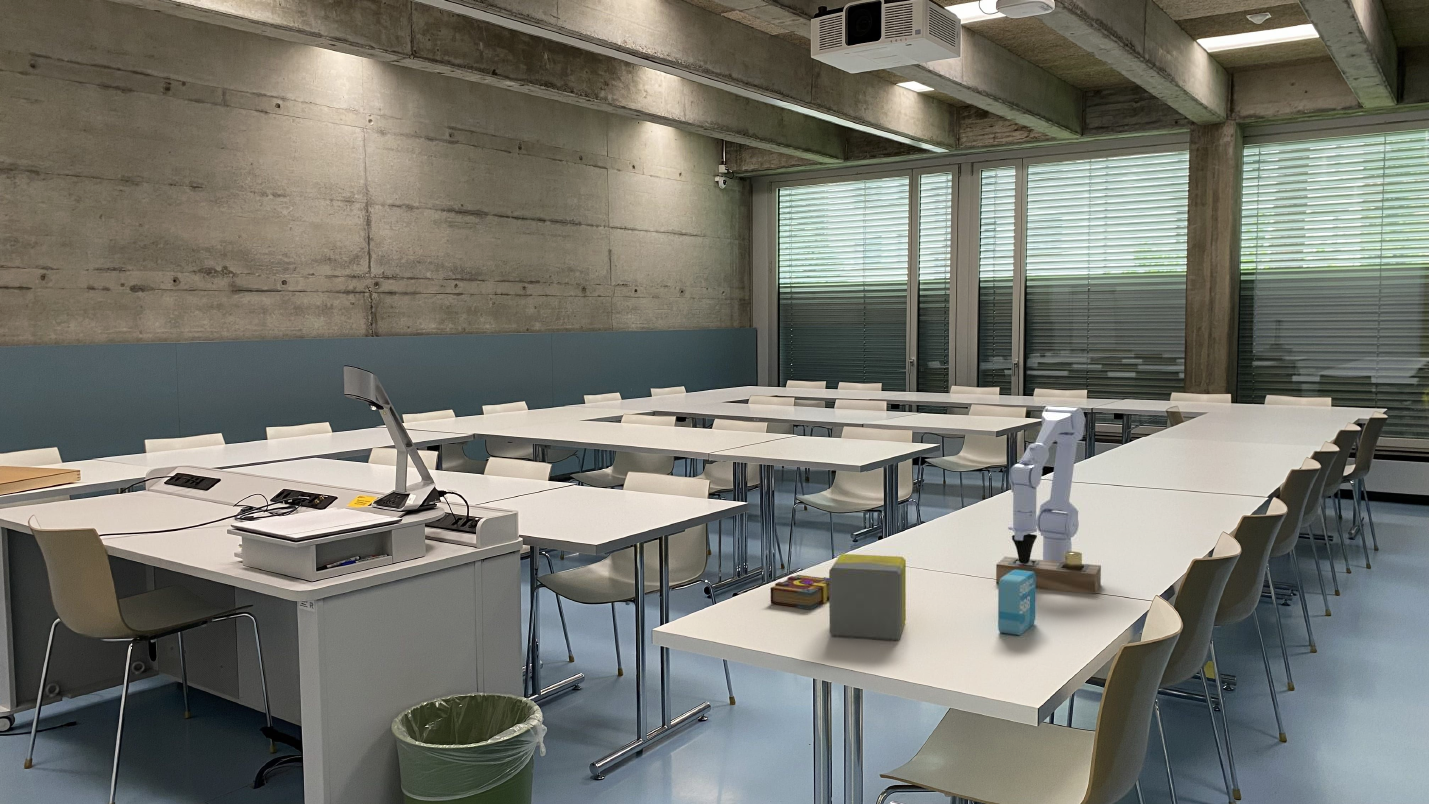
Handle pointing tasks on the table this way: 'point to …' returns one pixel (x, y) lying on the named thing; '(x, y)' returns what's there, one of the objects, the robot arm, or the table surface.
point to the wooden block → (1055, 575)
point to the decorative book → (801, 592)
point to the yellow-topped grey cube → (867, 596)
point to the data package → (1016, 602)
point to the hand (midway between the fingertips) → (1024, 562)
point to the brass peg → (1073, 560)
